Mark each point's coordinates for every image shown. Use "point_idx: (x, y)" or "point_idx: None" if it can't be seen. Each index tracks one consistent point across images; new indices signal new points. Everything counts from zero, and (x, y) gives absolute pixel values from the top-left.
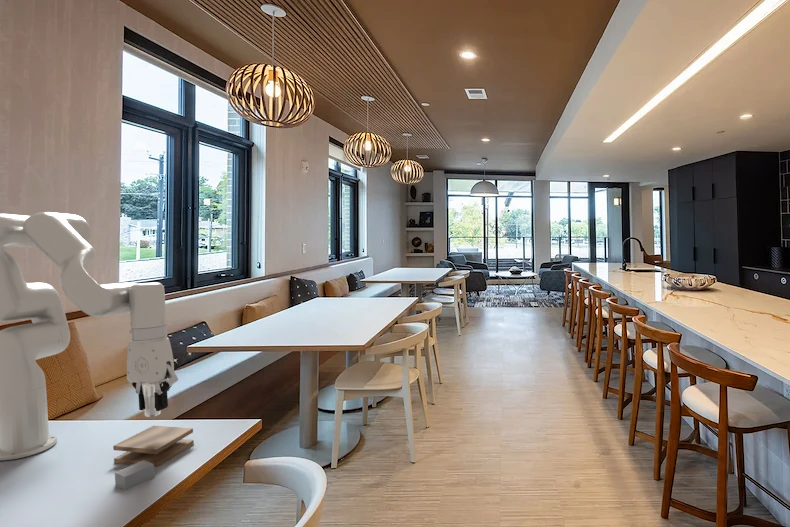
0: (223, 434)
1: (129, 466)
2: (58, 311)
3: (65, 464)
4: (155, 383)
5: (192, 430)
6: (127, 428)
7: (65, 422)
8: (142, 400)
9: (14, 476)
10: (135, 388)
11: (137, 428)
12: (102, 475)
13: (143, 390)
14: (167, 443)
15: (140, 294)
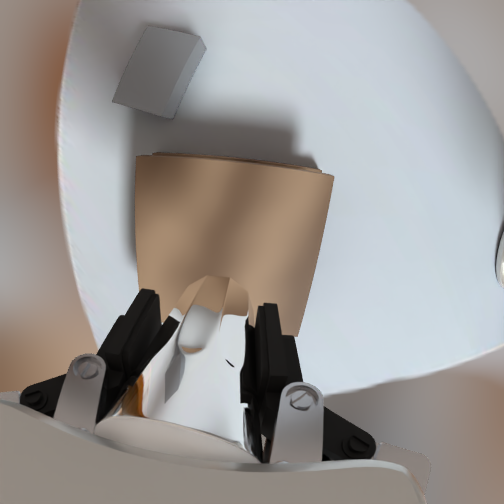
0: None
1: (178, 73)
2: None
3: (440, 168)
4: (87, 431)
5: None
6: (400, 353)
7: (498, 344)
8: (260, 346)
9: (489, 123)
10: (339, 419)
11: (378, 357)
12: (294, 94)
13: (210, 391)
14: (135, 209)
15: None
